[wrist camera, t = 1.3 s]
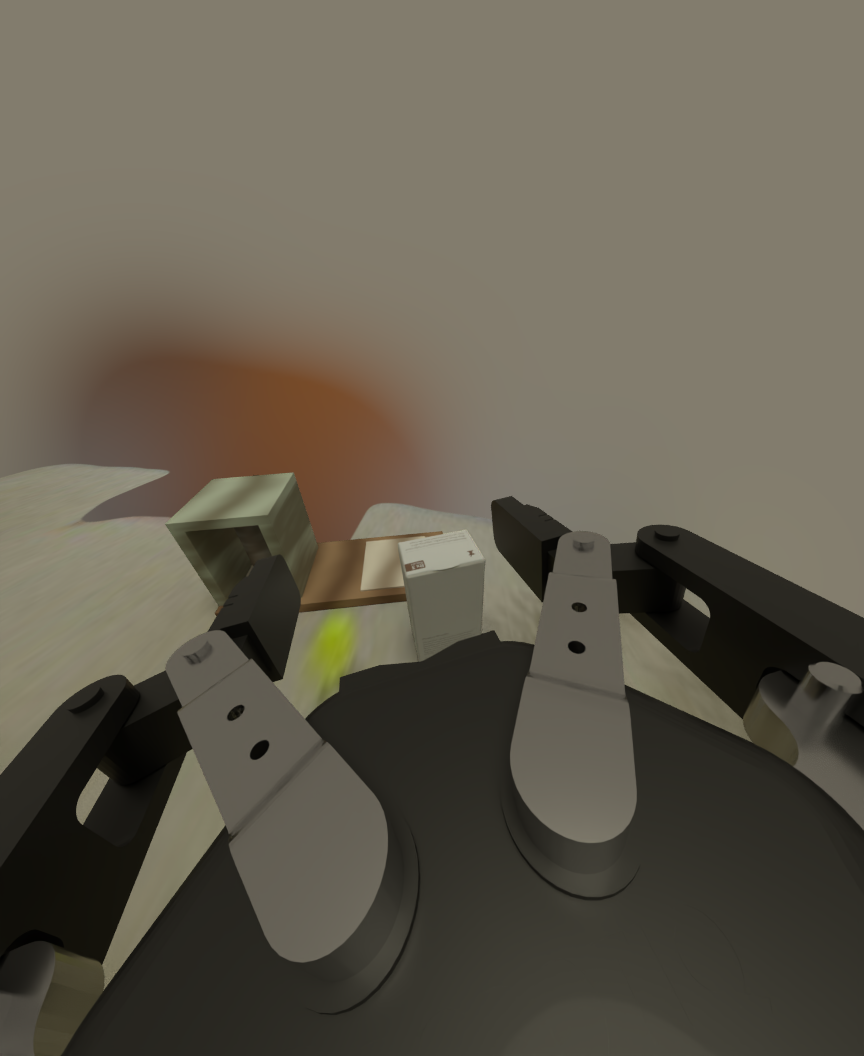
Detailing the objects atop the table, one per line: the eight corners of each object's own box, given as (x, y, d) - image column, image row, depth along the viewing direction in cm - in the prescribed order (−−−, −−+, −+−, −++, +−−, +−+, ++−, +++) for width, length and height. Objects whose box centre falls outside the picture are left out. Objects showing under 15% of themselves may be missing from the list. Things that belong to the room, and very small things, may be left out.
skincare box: (466, 618, 33) (468, 524, 26) (481, 655, 29) (489, 558, 22) (408, 632, 32) (395, 537, 25) (418, 672, 28) (405, 575, 21)
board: (219, 620, 34) (158, 530, 27) (255, 555, 43) (216, 475, 36) (454, 595, 36) (453, 503, 29) (442, 538, 45) (439, 457, 38)
